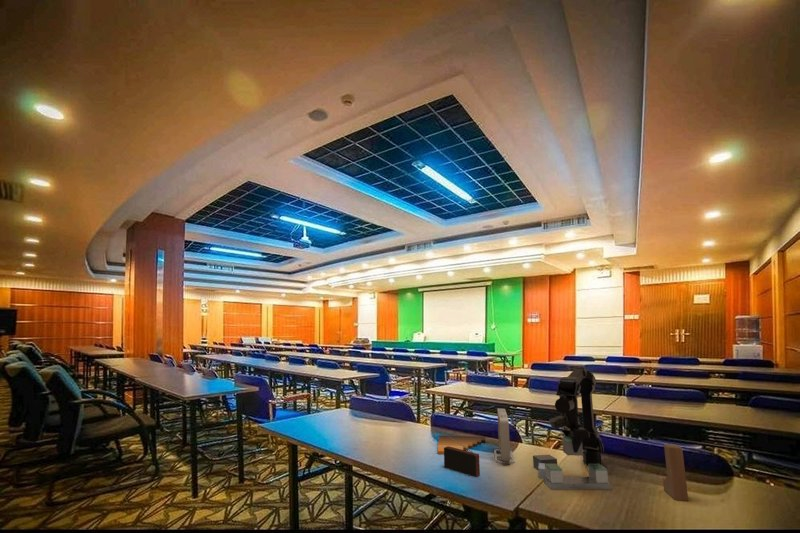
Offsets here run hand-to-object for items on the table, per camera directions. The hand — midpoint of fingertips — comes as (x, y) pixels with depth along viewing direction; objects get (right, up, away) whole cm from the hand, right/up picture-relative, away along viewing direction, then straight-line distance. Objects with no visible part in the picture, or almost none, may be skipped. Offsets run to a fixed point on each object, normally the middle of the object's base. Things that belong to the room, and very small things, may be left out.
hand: (573, 450), depth 153 cm
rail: (0, -12, -4) cm, 12 cm away
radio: (-44, -15, +12) cm, 48 cm away
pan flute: (-37, -20, +44) cm, 61 cm away
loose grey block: (-6, -15, +14) cm, 21 cm away
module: (0, -1, 0) cm, 1 cm away
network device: (-20, -17, +29) cm, 40 cm away
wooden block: (+32, -10, -13) cm, 36 cm away
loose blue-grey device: (-9, -14, +6) cm, 17 cm away
